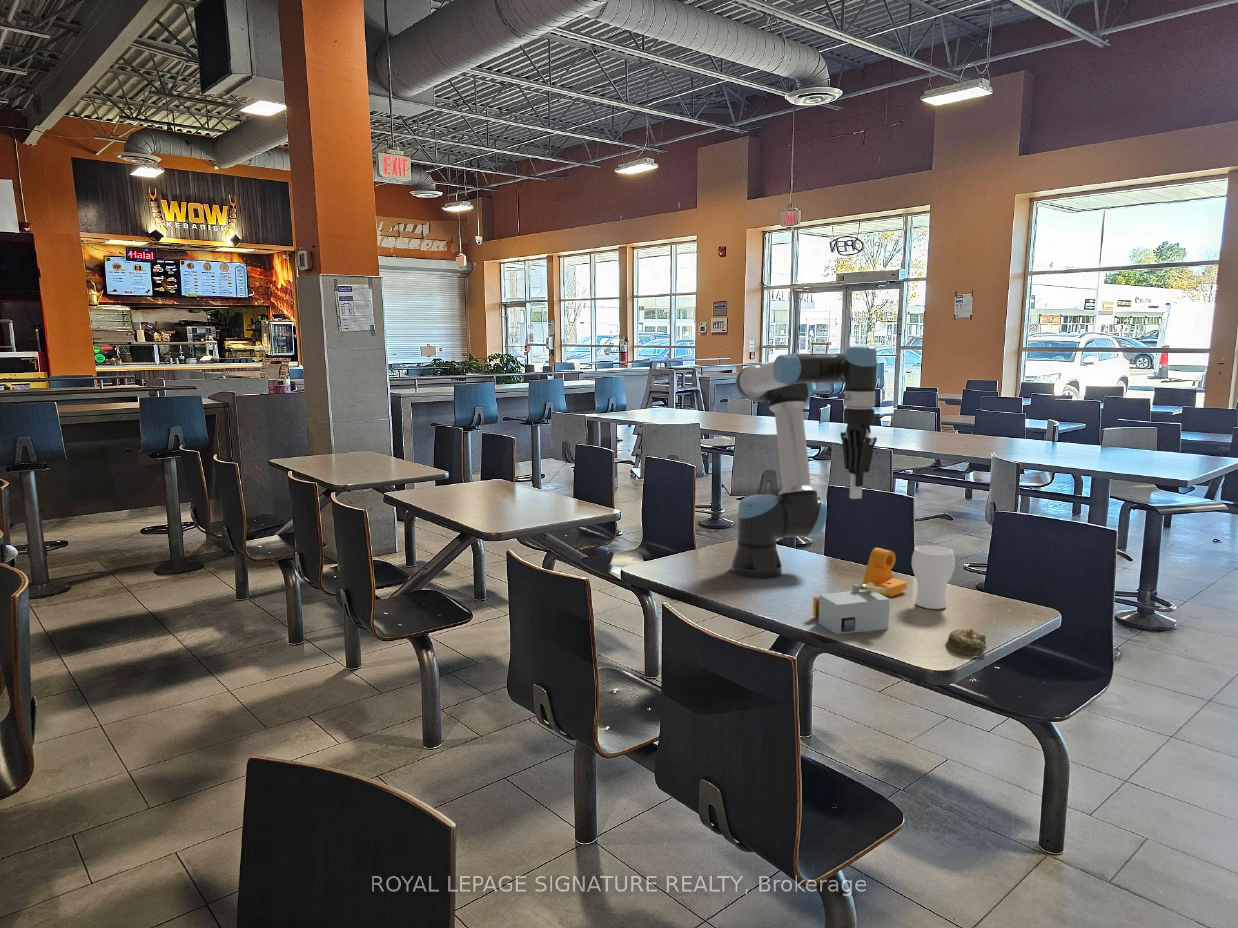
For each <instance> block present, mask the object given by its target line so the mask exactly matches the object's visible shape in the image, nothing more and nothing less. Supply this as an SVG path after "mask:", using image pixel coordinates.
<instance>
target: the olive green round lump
mask: <svg viewBox="0 0 1238 928" xmlns="http://www.w3.org/2000/svg"><path fill="white" fill-rule="evenodd" d="M947 639H948V640H947V641H946V643H945V647H946V649H947V650H949V651H951V652H953V653H955V654H958V655H961V656H966V657H970V656H979V657H978V658H986V657H987V655H986V653H985V649H988V646H987V645H986V644H987V642H986V634H984V633H982V632H980V631H977V630H974V629H973V628H972V627H971V629H970V628H969V629H964V628H963V629H960V628H958V629H955V630H953V631H951V632H950V633H949V635H948V637H947Z"/></svg>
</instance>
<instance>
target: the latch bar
mask: <svg viewBox="0 0 1238 928" xmlns="http://www.w3.org/2000/svg"><path fill="white" fill-rule="evenodd" d="M857 585H858V586H859V590H866V591H871V592H875V593H884V592H887V588H882V587H877V586H873V585H870V584H863V583H862V584H857Z"/></svg>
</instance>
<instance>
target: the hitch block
mask: <svg viewBox="0 0 1238 928" xmlns="http://www.w3.org/2000/svg"><path fill="white" fill-rule="evenodd" d="M868 584H870V585H873V586H874V584H873V583H868ZM858 585H859V584H856V583H854V584H852V589H851V590H850V591H849V590H848V591H843V592H842V591H841V592H832V593H823V594H819V596H818V597H819V617H818V624H820V625H821V626H823V628H826V629H827V630H829V631H830V632H831V633H833V634H835V635H842V634H852V633H853V634H854V633H862V632H863V633H864V632H873V631H882V630H883V631H885V630H889V620H890V601H891V600H890V599H891V598H890V597H888V596H884V595H881V594H879V593H875V592H871V591H866V590H862V589H861V590H859V586H858ZM842 618H852V619H854V621H853V629H852V630H842V629H841V621H842Z"/></svg>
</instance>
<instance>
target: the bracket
mask: <svg viewBox="0 0 1238 928" xmlns="http://www.w3.org/2000/svg"><path fill="white" fill-rule="evenodd" d="M869 554H870V555H869V559H868V562H867V565H866V568H865V569H866V570H865V572H864V575H863V580H862V584H868V583H873V584H874V586H877V587H882V588H887V592H884V593H879V594H881V595H883V596H885V597H887V598H892V597H894V596H895V597H896V596H897V595H900V594H903V591H905V590H907V581H904V580H902V579H898V578H894V577H893V574H892V569H893V568H894V566H895V564H896V559H897V557H896V553H895V552H894V551H893V550H888V549H885V548H880V547H874V548H873V549H872V550H871V551H870V553H869Z"/></svg>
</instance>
